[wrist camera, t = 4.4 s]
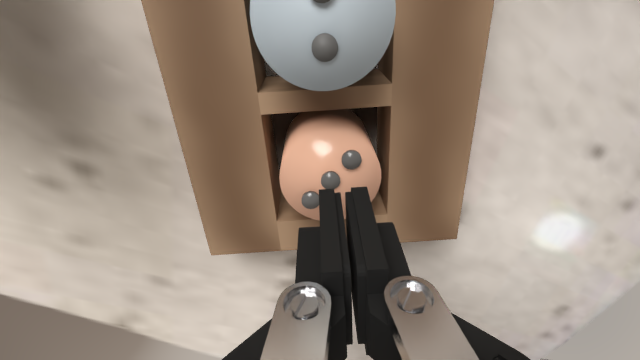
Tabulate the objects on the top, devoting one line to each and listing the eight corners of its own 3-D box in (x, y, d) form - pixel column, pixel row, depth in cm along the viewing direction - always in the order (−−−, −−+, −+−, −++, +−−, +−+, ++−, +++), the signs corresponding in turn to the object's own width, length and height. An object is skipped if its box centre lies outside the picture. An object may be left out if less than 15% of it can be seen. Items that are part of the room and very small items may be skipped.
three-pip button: (367, 100, 19) (383, 129, 15) (367, 177, 21) (380, 220, 17) (280, 106, 19) (272, 136, 15) (289, 182, 21) (285, 226, 17)
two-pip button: (374, -57, 14) (400, -78, 10) (373, 64, 16) (394, 87, 12) (257, -49, 14) (236, -66, 10) (272, 71, 16) (260, 97, 12)
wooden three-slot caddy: (508, -413, 11) (583, -566, 8) (436, 205, 23) (456, 238, 20) (83, -380, 11) (-2, -520, 8) (224, 219, 23) (211, 255, 20)
